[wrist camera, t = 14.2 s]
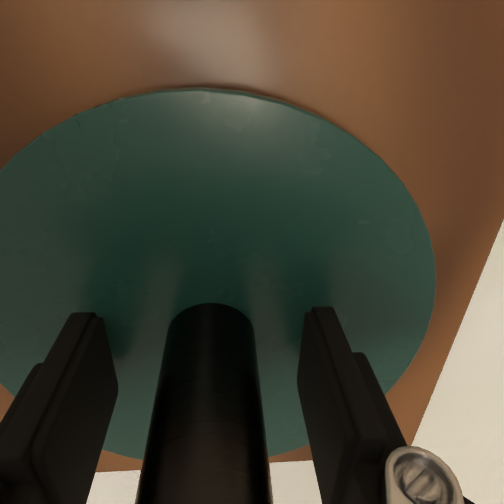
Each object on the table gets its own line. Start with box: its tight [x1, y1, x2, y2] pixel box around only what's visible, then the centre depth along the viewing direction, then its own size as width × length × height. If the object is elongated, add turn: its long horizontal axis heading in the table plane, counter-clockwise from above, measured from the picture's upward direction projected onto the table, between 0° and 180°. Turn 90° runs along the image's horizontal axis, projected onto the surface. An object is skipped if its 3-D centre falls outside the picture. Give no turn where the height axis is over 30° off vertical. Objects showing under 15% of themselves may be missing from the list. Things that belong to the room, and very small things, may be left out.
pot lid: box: [0, 87, 436, 504], centre depth 9 cm, size 14×14×7 cm
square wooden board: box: [0, 0, 504, 472], centre depth 12 cm, size 18×18×1 cm
